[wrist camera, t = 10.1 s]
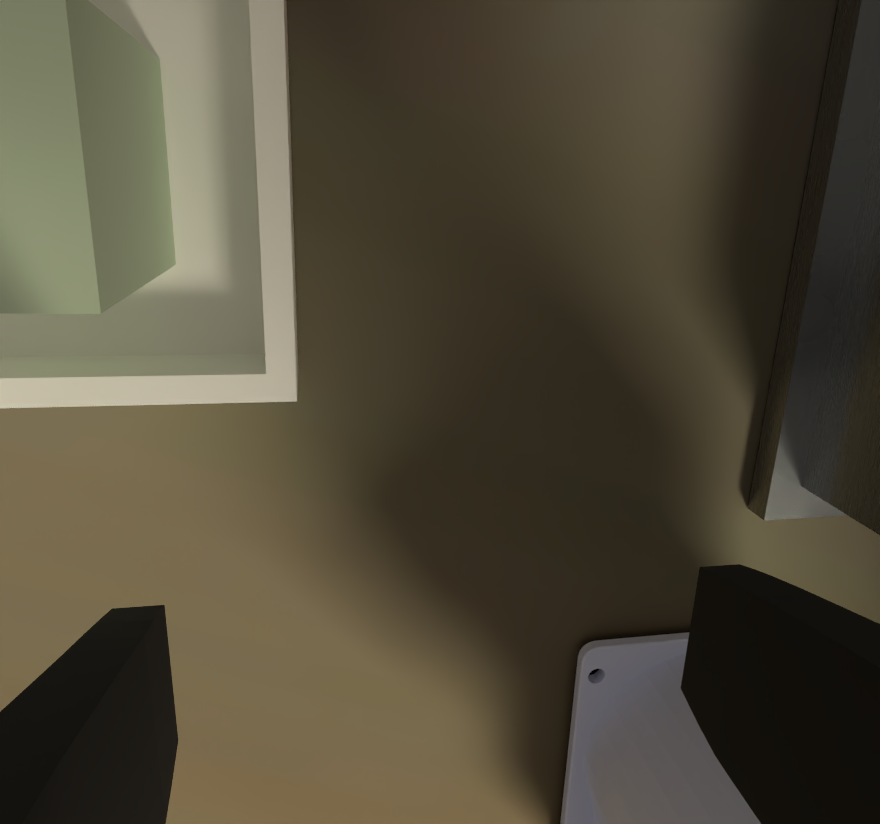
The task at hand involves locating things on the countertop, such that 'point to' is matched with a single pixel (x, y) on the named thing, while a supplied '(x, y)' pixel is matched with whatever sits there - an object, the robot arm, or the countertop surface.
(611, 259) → the countertop surface
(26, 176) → the sage green block
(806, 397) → the grey unit
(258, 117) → the off-white tray
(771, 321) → the countertop surface
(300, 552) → the countertop surface
